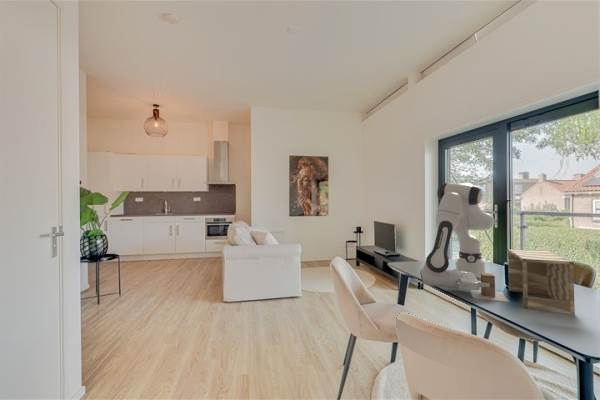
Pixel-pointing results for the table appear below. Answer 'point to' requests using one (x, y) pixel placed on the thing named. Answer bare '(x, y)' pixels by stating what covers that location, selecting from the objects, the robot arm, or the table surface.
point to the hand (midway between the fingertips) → (487, 282)
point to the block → (491, 280)
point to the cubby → (542, 279)
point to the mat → (498, 297)
